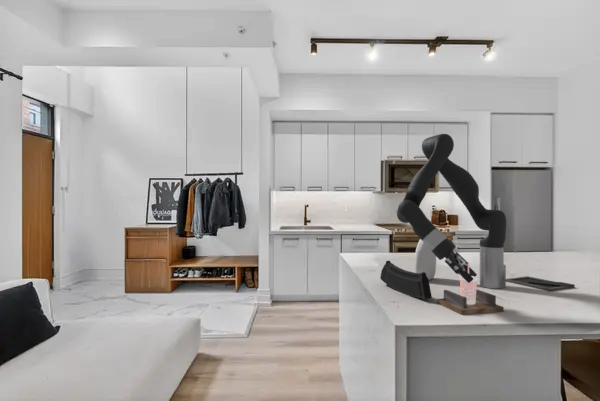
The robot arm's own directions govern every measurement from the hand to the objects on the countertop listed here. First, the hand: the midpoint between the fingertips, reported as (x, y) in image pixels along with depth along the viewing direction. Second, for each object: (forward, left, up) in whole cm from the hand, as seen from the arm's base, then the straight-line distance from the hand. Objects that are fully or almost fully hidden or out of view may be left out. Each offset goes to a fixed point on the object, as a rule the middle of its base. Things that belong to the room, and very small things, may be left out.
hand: (473, 278), depth 128 cm
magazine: (+13, -25, -10) cm, 30 cm away
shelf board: (+1, -1, -10) cm, 10 cm away
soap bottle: (-9, -44, -10) cm, 46 cm away
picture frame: (-52, -25, -11) cm, 59 cm away
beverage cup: (+1, -1, -9) cm, 9 cm away
